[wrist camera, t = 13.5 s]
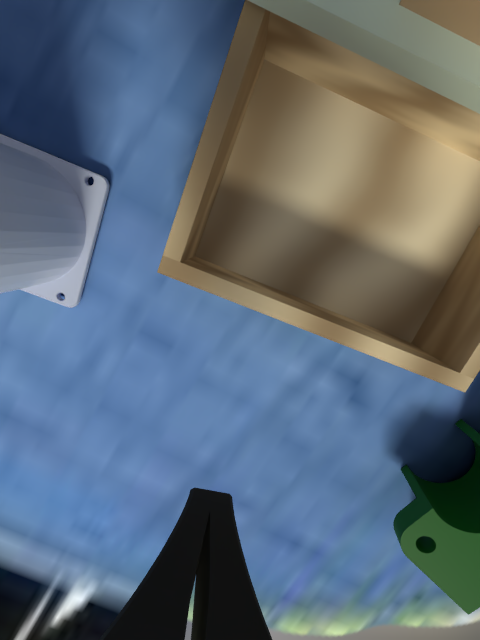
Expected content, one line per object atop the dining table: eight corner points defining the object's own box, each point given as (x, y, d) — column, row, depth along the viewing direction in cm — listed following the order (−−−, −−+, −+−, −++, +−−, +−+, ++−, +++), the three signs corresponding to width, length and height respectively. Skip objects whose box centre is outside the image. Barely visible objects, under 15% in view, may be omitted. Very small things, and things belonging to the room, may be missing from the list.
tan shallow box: (179, 263, 18) (157, 272, 14) (295, -78, 14) (323, -242, 9) (410, 354, 20) (464, 392, 15) (577, 69, 16) (728, -6, 11)
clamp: (440, 389, 25) (561, 394, 16) (497, 439, 25) (654, 472, 16) (355, 509, 23) (443, 590, 14) (417, 567, 22) (548, 688, 14)
